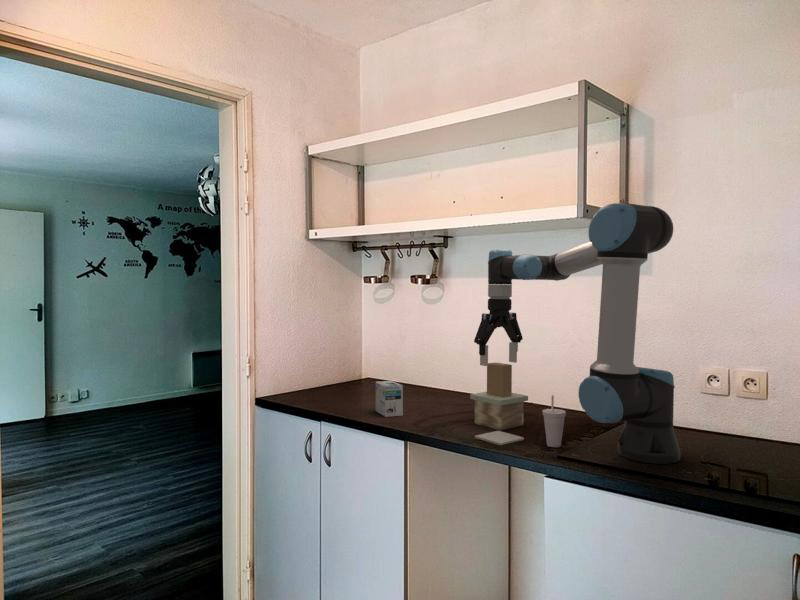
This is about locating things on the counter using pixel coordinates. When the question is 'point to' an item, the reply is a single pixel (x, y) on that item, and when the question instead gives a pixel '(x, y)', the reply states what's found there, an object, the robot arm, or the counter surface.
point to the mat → (499, 437)
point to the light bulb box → (389, 398)
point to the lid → (499, 386)
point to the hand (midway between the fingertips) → (498, 364)
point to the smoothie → (554, 425)
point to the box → (499, 415)
